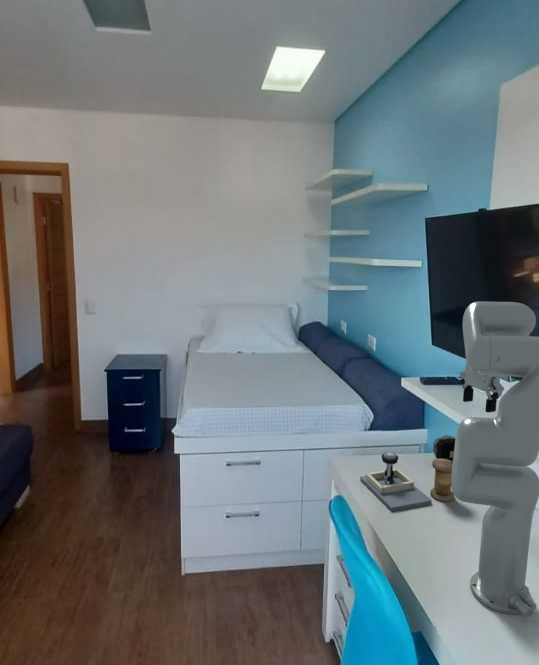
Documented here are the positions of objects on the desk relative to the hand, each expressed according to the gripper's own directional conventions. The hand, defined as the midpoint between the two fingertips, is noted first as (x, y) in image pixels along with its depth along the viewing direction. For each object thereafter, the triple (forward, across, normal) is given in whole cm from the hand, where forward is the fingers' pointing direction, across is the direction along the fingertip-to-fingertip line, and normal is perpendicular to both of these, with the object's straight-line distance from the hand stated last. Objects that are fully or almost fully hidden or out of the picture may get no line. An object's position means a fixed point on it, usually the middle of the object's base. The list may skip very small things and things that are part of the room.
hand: (478, 406), depth 141 cm
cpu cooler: (+31, +22, -8) cm, 39 cm away
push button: (+29, +14, +21) cm, 39 cm away
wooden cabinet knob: (+30, +4, +8) cm, 32 cm away
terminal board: (+30, +11, +21) cm, 38 cm away
